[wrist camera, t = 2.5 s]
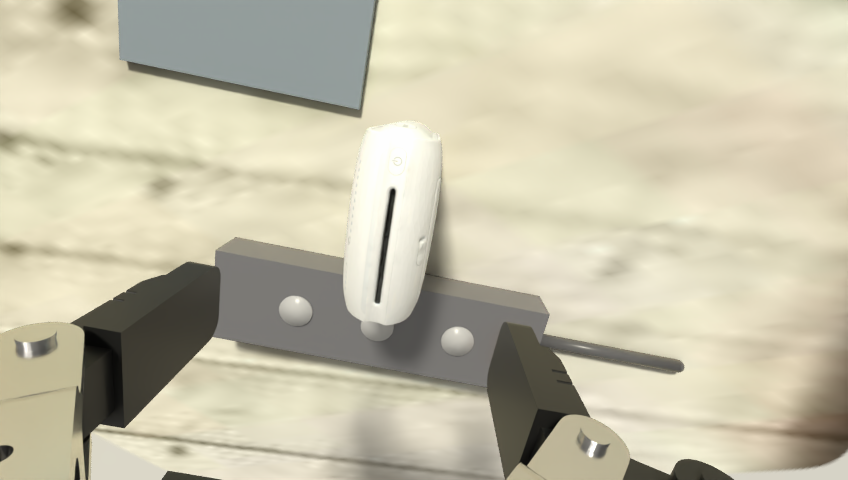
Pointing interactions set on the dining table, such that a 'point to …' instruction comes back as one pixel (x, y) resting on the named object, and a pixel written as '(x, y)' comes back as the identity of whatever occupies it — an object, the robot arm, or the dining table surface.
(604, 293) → the dining table surface
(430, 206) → the photo printer
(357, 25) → the rubber mat
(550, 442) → the robot arm
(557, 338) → the power strip
